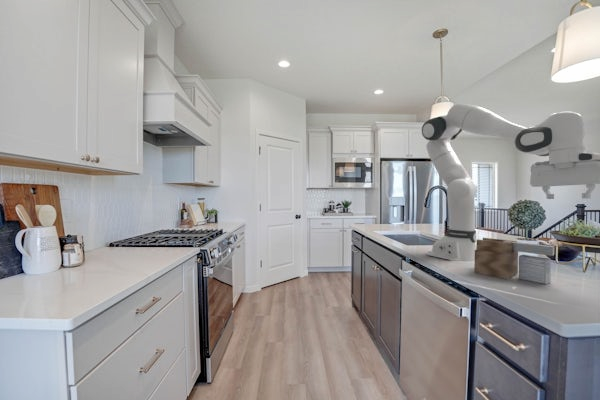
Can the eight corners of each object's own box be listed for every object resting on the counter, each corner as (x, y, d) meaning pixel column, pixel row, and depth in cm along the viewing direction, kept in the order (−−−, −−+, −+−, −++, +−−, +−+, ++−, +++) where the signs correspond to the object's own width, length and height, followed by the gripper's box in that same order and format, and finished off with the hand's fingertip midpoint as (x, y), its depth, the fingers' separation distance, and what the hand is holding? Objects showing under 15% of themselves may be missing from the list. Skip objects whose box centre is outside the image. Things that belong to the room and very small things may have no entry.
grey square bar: (502, 249, 102) (502, 241, 102) (505, 248, 104) (505, 240, 104) (552, 255, 91) (552, 247, 91) (554, 254, 93) (554, 246, 93)
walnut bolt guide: (474, 272, 106) (474, 240, 106) (485, 267, 113) (485, 237, 113) (508, 279, 97) (509, 244, 97) (517, 273, 105) (518, 240, 105)
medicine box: (550, 282, 94) (551, 258, 94) (546, 284, 92) (546, 259, 92) (523, 276, 101) (523, 254, 101) (518, 278, 98) (518, 255, 98)
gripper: (525, 162, 101) (526, 199, 100) (604, 153, 82) (605, 198, 82) (535, 163, 103) (536, 199, 103) (613, 154, 84) (614, 198, 84)
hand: (567, 198), depth 92 cm, fingers open, 8 cm apart
